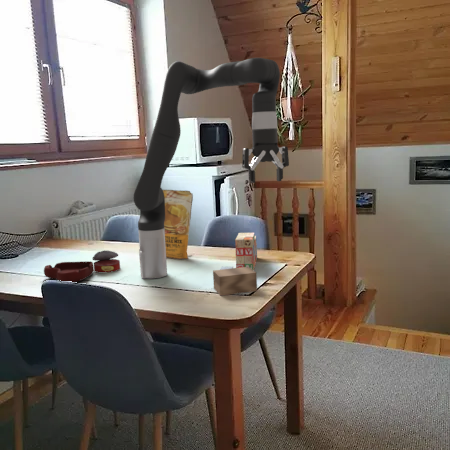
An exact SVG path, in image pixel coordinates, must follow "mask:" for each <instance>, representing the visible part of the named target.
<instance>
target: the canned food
mask: <svg viewBox="0 0 450 450" xmlns="http://www.w3.org/2000/svg"><path fill="white" fill-rule="evenodd" d="M117 257H119V254H118V253H117V252H116V251H111V250H100V251H97V252H96V253H95V254H94V255H93V257H92V261H95V262H93V268H94V270H93V272H95V271H96V272H95V273H99V272H107V273H112V272H111V271H113V272H117V271H118V270H120V269H121V265H120V264H121V263H120V260H119V259H115V258H117ZM116 270H117V271H116Z"/></svg>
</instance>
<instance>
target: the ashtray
mask: <svg viewBox="0 0 450 450" xmlns="http://www.w3.org/2000/svg"><path fill="white" fill-rule="evenodd" d="M43 268H44V269H43V274H44V276H45V277H46V278H48V279H50V280H58V281H59V280H61V281H72V282H74V283H79V282H81V281H83V280H85V279H87V278H88V277H90V276H91V275H93V274H94V262H93V261H61V262H57V263H56V264H55V265H54V266H52V264H47V265H45V266H44V267H43Z"/></svg>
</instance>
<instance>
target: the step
mask: <svg viewBox="0 0 450 450" xmlns="http://www.w3.org/2000/svg"><path fill="white" fill-rule="evenodd" d="M212 275H213V277H212V278H213V289H214V290H215V291H216V293H218V295H220V296H228V295H235V294H243V293H244V294H245V293H252V292H257V291H258V283H257V282H258V281H257V279H258V277H257V271H255V269H254V270H252V269H251V268H250V267H241V268H236V267H235V268H234V267H233V268H232V269H223V270H220V269H216V270H215V269H214V270H212Z"/></svg>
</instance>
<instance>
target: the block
mask: <svg viewBox="0 0 450 450" xmlns="http://www.w3.org/2000/svg"><path fill="white" fill-rule="evenodd" d="M232 268H234V266H221V267H220V269H219V270H223V269H232Z"/></svg>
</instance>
